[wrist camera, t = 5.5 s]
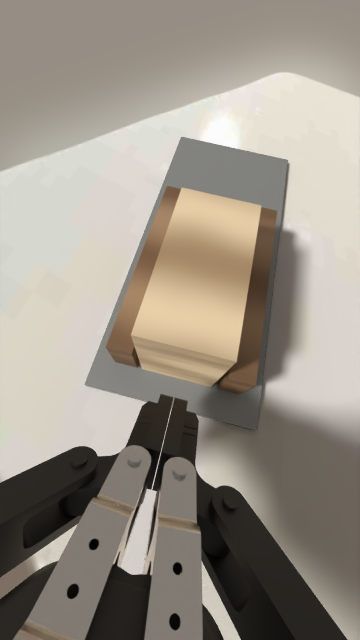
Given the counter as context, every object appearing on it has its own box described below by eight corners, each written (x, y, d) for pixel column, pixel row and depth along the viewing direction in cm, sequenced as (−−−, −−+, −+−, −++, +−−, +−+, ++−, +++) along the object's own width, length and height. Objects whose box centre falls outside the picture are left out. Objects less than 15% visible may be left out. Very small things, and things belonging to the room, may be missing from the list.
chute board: (181, 141, 29) (181, 136, 29) (285, 164, 29) (287, 160, 28) (86, 385, 18) (84, 384, 18) (254, 430, 18) (257, 430, 17)
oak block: (176, 257, 22) (181, 187, 16) (233, 271, 22) (261, 205, 16) (142, 369, 18) (130, 334, 12) (210, 387, 18) (236, 361, 12)
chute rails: (166, 218, 24) (166, 185, 21) (262, 240, 24) (277, 210, 21) (115, 362, 19) (105, 347, 15) (239, 394, 18) (255, 385, 15)
